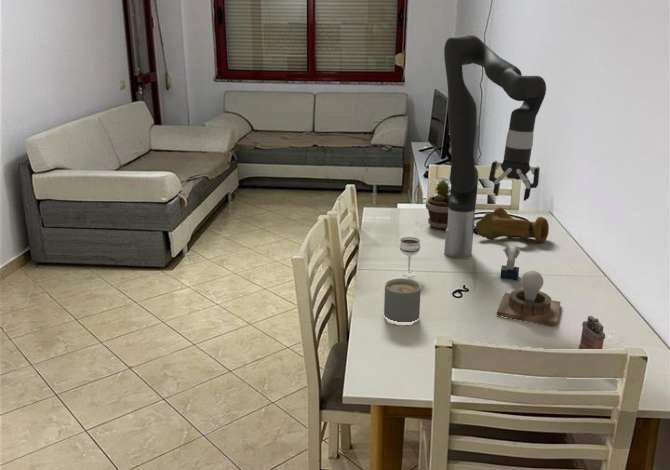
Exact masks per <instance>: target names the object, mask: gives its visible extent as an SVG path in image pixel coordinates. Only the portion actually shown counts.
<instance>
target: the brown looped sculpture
mask: <svg viewBox="0 0 670 470" xmlns="http://www.w3.org/2000/svg"><path fill="white" fill-rule="evenodd" d="M475 228H476V232H477V233H478V235H479V236H480V237H481V238H482V237H483V238H486V239H487V240H491V241H492V240H495V239H498V238H500V237H505V238H507V239H513V238H517V239H518V238H519V239H532V238H533V239H535V241H536V242H537V243H540V244H542V243H544V242H546V240H547V238H548V237H549V231H550V227H549V222H548V219H546V218H545V217H543V216H538V217H537V218H536V220H535V221H530V220H525V219H515V218H513V217H512V216H511V215H510V214H509V213H508V212H507V211H506V210H505V209H504V208H503V207H497V208H495V209H494V210H493V211H492V212H490V213H486V214H484V215H483V217H482V218H481V219H479V220H477V222H476V223H475Z"/></svg>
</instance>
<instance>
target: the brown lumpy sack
mask: <svg viewBox="0 0 670 470" xmlns="http://www.w3.org/2000/svg"><path fill="white" fill-rule="evenodd" d="M580 335H581V336H580V341H579V346H578V350H579V349H602V350H603V348H604V347H603V345H604V340H605V339H606V333H604V325H603V324H602V323H600V321H599V318H595V317H594V316H593V315H587V320H585V321H582V330H581V334H580Z"/></svg>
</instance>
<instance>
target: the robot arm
mask: <svg viewBox="0 0 670 470" xmlns="http://www.w3.org/2000/svg"><path fill="white" fill-rule="evenodd" d="M443 57H444V66H445V72H446V73H445V74H446V75H445V76H446V81H447V83H446V84H447V101H448V104H447V105H448V107H447V108H448V112H447V113H448V115H447V116H448V131H449V132H448V133H449V143H450V149H451V152H450V153H451V160H450V161H451V163H450V170H449V171H450V172H449V184H450V190H449V191H450V192H449V195H450V199H449V210H448V225H447V229H446V230H445V234H444V250H443V251H444V253H443V254H444V255H445V256H448V257H451V258H454V259H466V258H469V257H471V256H472V254H473V241H474V230H475V229H474V225H475V216H476V205H477V204H476V203H477V199H478V197H477V196H478V184H479V171H478V168H477V167H476V166H475V158H474V157H475V155H474V149H475V143H476V135H477V134H476V133H477V124H478V123H477V122H478V120H477V117H478V116H477V105H476V101H475V99H474V97H473V95H472V94H471V92H470V91H469V89H468V87H467V86H466V84H465V80H464V76H463V75H464V74H463V73H464V72H463V66H467V65H471V64H475V65H478V66H481V67H483V69H484V70H483V71H484V73H485V75H486V77H487V78H488V79H489V80H490V81H491V82H492V83H494V84H495V85H497V86H499V87H500V88H502V90H503V91H504V92H505V93H506V95H507V96H508V97H509V98H510V99H512V100H514V101H518V102H522V104H521V106H520V107H517V108H516V109H513V110H512V112H511V113H510V119H509V126H508V132H507V135H506V141H505V147H504V153H503V160H502V162H499V161H498V160H494V161H493V162H492V163H491V167H490V172H489V176H488V180H489V182H492V183H493V184H494V185H493V191H492V192H493V194H494V196H495V197H498V196H499V193H500V186H501V181H502V180H503V179H505V177H506V178H507V179H511V180H512V179H513V180H517V181H518V180H521V181H522V183H523V184H524V186H525V188H524V195H523V201H524V202H525V201H527V200H529V198H530V195H531V189H536V188H537V187H538V186H539V181H540V180H539V179H540V170H541V169H540V167H539V166H536V167H535V166H531V164H530V161H531V155H532V149H533V146H534V130H535V124H536V118H537V116H538V114H539V112H540V108H541V107H542V104H543V102H544V99H545V97H546V94H547V93H546V92H547V84H546V81H545V79H544V78H543V77H542V76H540V75H522V72H521V70H520V69H519V68H518V67H517V66H516V65H514V64H512V63H511V62H509V61H507V60H505V59H504V58H502V57H500V56H499V55H498V54H497V53H496V52H494V50H492V49H491V48H490V47H489V46H488V45H487V44H486V43H484V42H483V41H482V40H481V39H480V38H479V37H478V36H476V35H474V34H463V35H462V34H461V35H453V36H449V37H448V38H447V40H446V41H445V43H444V50H443ZM499 168H501V170H502V173H501V174H500V175H499V176H498V177H496V171H497V170H498V169H499ZM529 171H530V172H531V174H532V175H533V179H532V180H533V181H532V183H531V181H530V179H529V177H528V173H529Z"/></svg>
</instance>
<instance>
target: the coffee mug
mask: <svg viewBox="0 0 670 470" xmlns="http://www.w3.org/2000/svg"><path fill="white" fill-rule="evenodd" d="M421 286H422V285H421V284H420V283H419V282H418V281H416V280H414V279H411V278H401V277H399V278H393V279H389V280H387V281H386V282H385V283H384V298H383V300H384V302H383V304H384V305H383V316H384V315H385V317H387V318H388V319H390V320H393V321H397V322H412V321H415V320H417V319H418V318H419V319H420V310H421V309H420V308H421V307H420V306H421V292H422V291H421V290H422V289H421V288H422V287H421Z"/></svg>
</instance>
